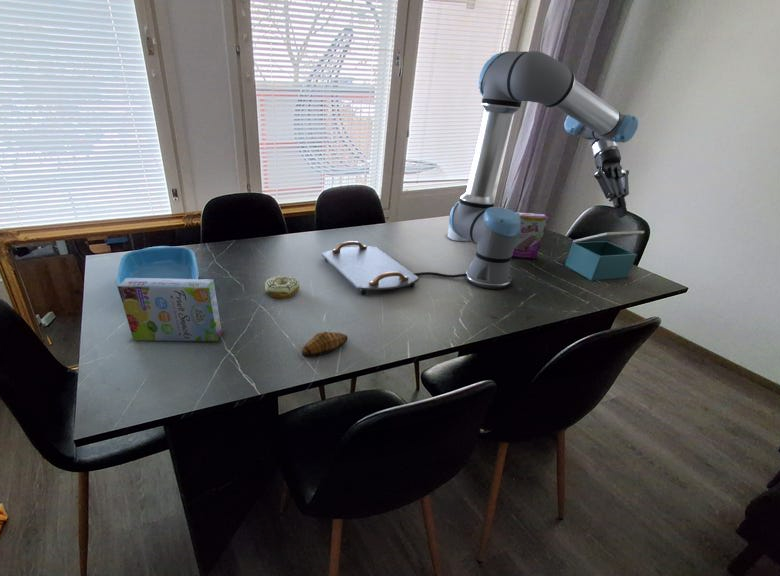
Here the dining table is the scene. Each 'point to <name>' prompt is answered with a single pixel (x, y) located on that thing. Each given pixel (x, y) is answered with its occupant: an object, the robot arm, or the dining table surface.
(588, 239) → the lid
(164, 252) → the casserole dish
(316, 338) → the croissant
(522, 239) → the candy bar box
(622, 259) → the tote
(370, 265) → the serving tray
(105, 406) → the dining table surface
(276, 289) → the decorated donut
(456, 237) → the toilet tissue
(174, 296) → the snack box
